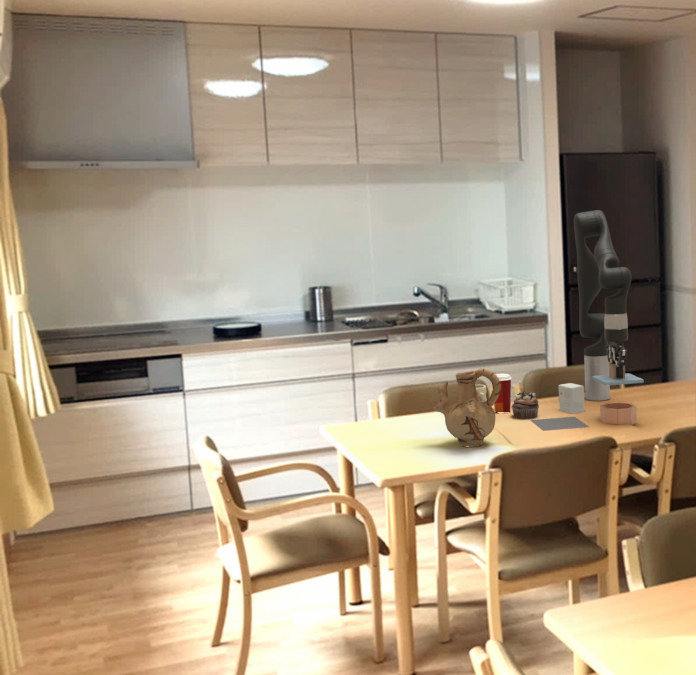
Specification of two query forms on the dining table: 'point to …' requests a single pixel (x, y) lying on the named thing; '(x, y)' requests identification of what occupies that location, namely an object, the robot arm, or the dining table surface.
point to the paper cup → (504, 393)
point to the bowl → (618, 413)
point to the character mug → (481, 391)
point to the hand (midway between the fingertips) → (617, 376)
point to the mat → (559, 423)
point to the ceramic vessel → (469, 408)
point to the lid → (612, 378)
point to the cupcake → (525, 406)
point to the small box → (571, 398)
